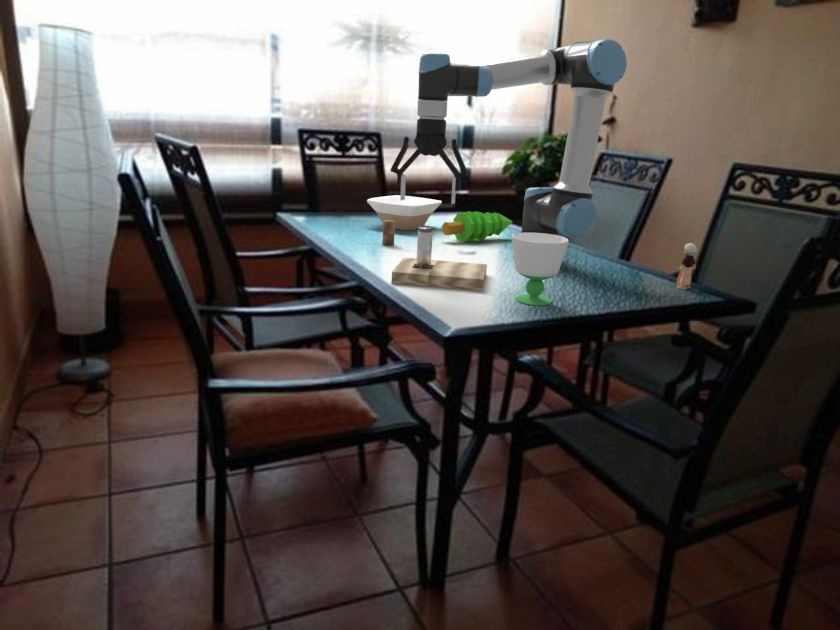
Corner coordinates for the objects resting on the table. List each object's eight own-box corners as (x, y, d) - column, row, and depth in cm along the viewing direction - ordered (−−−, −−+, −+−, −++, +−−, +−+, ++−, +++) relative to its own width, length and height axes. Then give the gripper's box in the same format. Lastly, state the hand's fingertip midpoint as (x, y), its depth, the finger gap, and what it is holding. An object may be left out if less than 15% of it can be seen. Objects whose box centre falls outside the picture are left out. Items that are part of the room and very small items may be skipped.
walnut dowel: (395, 243, 218) (395, 220, 215) (392, 245, 214) (393, 222, 212) (383, 242, 218) (384, 219, 216) (381, 244, 215) (381, 221, 212)
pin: (431, 273, 177) (434, 227, 173) (429, 277, 173) (432, 229, 169) (416, 272, 177) (419, 226, 173) (414, 275, 173) (416, 228, 169)
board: (486, 274, 181) (486, 264, 181) (482, 290, 164) (483, 279, 164) (403, 267, 185) (403, 257, 184) (391, 282, 168) (391, 271, 167)
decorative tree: (441, 206, 223) (509, 201, 237) (434, 234, 230) (500, 227, 244) (458, 223, 216) (526, 217, 230) (450, 251, 223) (517, 243, 237)
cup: (554, 294, 165) (561, 233, 160) (567, 309, 152) (575, 244, 147) (501, 292, 164) (507, 231, 159) (510, 307, 151) (517, 241, 146)
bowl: (445, 227, 254) (447, 200, 251) (412, 235, 234) (413, 206, 231) (396, 220, 266) (397, 194, 263) (360, 226, 246) (361, 199, 243)
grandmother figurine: (680, 284, 182) (688, 240, 178) (694, 286, 180) (702, 242, 176) (671, 288, 176) (679, 243, 173) (685, 291, 174) (693, 246, 170)
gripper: (481, 120, 165) (475, 202, 171) (386, 116, 168) (384, 196, 174) (479, 120, 158) (473, 206, 164) (381, 115, 161) (378, 200, 167)
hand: (427, 201), depth 169 cm, fingers open, 13 cm apart
